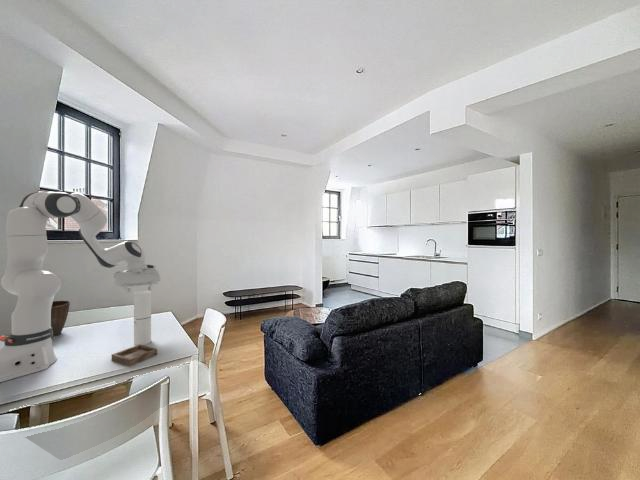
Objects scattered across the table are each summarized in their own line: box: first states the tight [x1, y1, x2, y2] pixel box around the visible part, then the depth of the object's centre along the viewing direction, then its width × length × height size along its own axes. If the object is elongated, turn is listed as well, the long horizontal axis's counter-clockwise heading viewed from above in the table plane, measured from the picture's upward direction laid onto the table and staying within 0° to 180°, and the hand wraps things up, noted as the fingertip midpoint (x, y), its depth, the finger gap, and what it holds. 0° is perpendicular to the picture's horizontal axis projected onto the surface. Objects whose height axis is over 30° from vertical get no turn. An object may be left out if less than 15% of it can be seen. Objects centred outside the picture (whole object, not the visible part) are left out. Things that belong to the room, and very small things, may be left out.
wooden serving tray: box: [111, 344, 158, 367], centre depth 120 cm, size 12×12×2 cm
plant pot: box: [51, 300, 71, 337], centre depth 145 cm, size 15×15×16 cm
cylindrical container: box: [133, 290, 152, 346], centre depth 136 cm, size 7×7×25 cm
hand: (139, 291), depth 145 cm, fingers open, 8 cm apart
